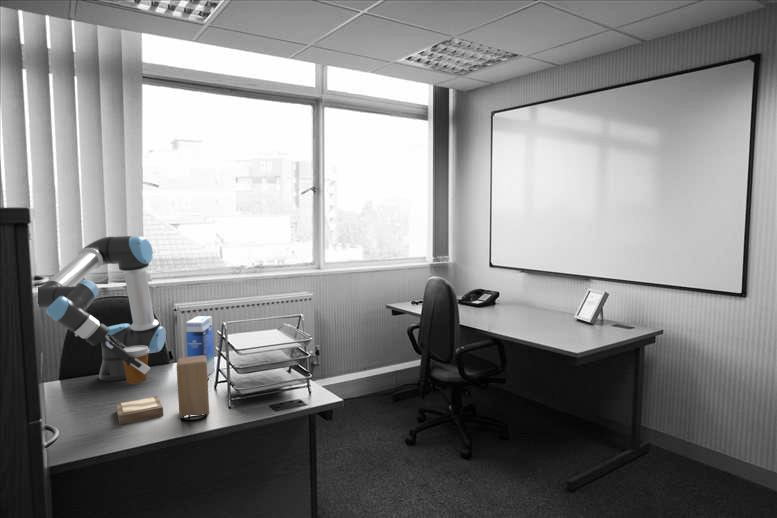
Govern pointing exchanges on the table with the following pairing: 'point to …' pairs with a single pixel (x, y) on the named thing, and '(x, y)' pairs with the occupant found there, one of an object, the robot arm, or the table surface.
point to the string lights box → (201, 339)
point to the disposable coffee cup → (130, 371)
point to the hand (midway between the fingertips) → (145, 367)
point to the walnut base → (139, 409)
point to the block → (192, 385)
